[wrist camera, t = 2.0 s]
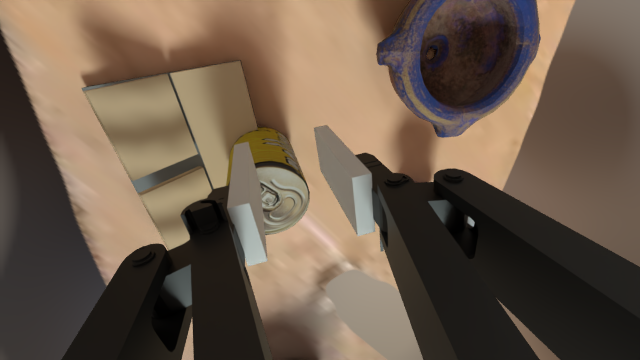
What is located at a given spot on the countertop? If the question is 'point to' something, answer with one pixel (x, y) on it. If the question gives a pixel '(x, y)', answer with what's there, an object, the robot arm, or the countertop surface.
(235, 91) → the underlay
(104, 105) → the tan flat block
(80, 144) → the countertop surface
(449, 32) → the bowl
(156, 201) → the plank far
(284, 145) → the beverage can
